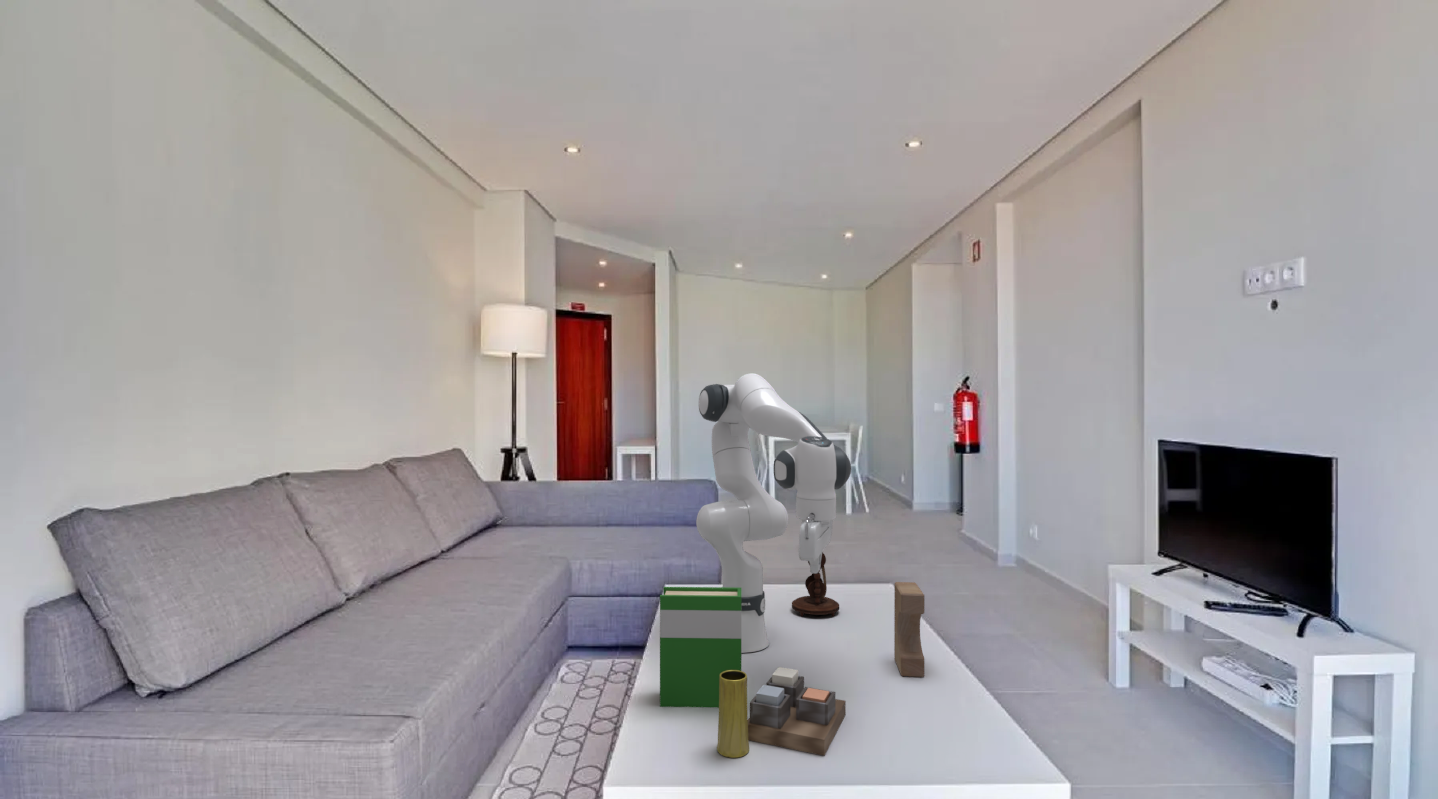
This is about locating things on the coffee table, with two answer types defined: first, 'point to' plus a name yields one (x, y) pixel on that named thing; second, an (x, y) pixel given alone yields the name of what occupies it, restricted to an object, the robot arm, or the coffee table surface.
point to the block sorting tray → (796, 720)
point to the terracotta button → (816, 695)
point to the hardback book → (697, 643)
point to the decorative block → (908, 629)
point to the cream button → (785, 676)
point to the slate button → (770, 695)
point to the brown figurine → (816, 595)
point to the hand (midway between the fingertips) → (815, 571)
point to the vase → (733, 714)
